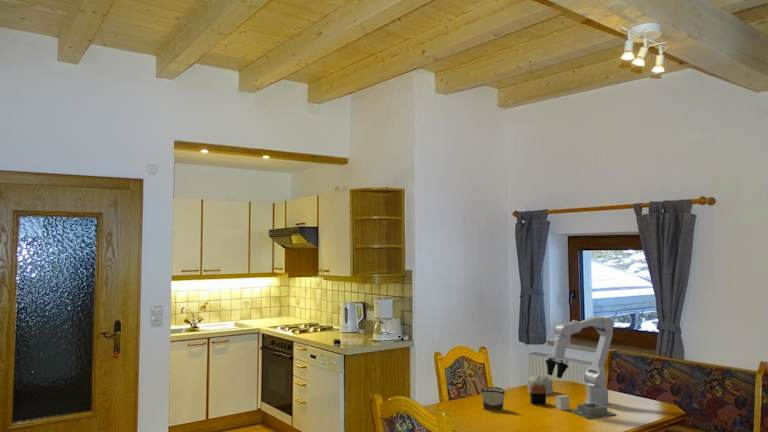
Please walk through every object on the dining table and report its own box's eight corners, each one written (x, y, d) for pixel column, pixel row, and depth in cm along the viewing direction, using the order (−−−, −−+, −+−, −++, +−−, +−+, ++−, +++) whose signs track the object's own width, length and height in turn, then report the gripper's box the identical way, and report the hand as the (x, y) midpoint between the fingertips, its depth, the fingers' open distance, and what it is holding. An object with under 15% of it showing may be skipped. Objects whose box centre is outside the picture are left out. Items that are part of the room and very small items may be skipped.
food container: (508, 408, 286) (508, 387, 287) (505, 411, 281) (505, 390, 281) (484, 405, 291) (483, 385, 292) (480, 408, 286) (480, 388, 286)
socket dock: (596, 407, 285) (596, 400, 285) (616, 415, 272) (616, 407, 272) (569, 411, 280) (568, 403, 280) (587, 418, 267) (587, 410, 267)
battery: (546, 404, 292) (545, 384, 293) (532, 405, 292) (532, 385, 292) (543, 402, 296) (542, 382, 297) (530, 402, 296) (529, 383, 297)
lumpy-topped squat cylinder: (525, 391, 322) (525, 375, 322) (547, 389, 324) (547, 374, 325) (534, 395, 311) (533, 379, 312) (556, 394, 314) (556, 377, 314)
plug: (564, 407, 287) (564, 394, 288) (569, 409, 283) (569, 396, 284) (555, 408, 286) (555, 395, 286) (560, 410, 282) (560, 397, 282)
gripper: (544, 345, 293) (539, 372, 290) (561, 349, 279) (556, 377, 277) (555, 348, 295) (550, 375, 292) (573, 352, 281) (568, 380, 279)
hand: (554, 376), depth 285 cm, fingers open, 7 cm apart
